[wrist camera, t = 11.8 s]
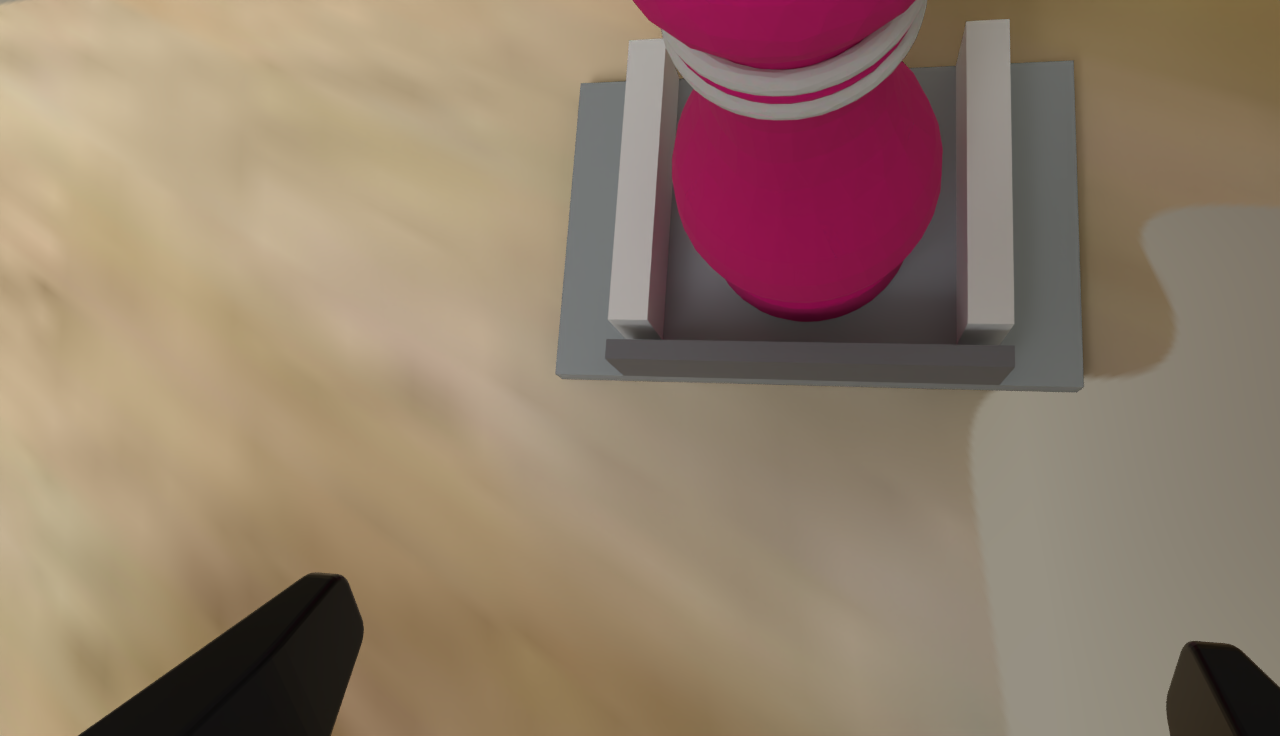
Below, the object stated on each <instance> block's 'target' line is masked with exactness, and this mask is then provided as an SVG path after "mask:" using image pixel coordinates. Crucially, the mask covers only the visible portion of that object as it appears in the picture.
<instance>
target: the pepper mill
mask: <svg viewBox="0 0 1280 736" xmlns="http://www.w3.org/2000/svg"><path fill="white" fill-rule="evenodd" d="M633 2H634V3H635V4H636V5H637V6H638V8H639V9H640V10H641V11H642V12H643V14H644V15H645V16H646V17H647V18H648V20H649V21H651V22H652V23H654V24H655V25H657V26H658V27H660V28H661V30H662V36H663V40H664V43H665V46H666V49H667V51H668V53H669V55H670V57H671V59H672V61H673V63H674V65H675V67H676V68H677V70H678V71H679V72H680V74H681V75H682V76H683V77H684V79H685V80H686V81H687V82H688V83H689V84H690V86H691V87H692V88H693V90H692V92H691V94H690V96H689V97H688V100H687V102H686V104H685V106H684V108H683V111H682V114H681V117H680V120H679V123H678V127H677V133H676V138H675V144H674V150H673V155H672V181H673V186H674V192H675V198H676V203H677V208H678V212H679V215H680V218H681V221H682V224H683V227H684V230H685V232H686V233H687V235H688V237H689V239H690V241H691V242H692V244H693V246H694V248H695V250H696V251H697V252H698V253H699V254H700V255H701V257H702V258H703V259H704V260H705V261H706V262H707V263H708V264H709V265H710V266H711V267H712V269H714V270H715V271H716V272H717V273H718V274H719V275H721V276H722V277H723V278H725V280H726V281H727V283H728V284H729V286H730V287H731V288H732V289H733V290H734V291H735V292H736V294H738V295H739V296H740V297H741V298H742V299H743V300H744V301H746V302H748V303H749V304H751V305H752V306H754V307H755V308H757V309H758V310H760V311H762V312H764V313H766V314H769V315H771V316H774V317H777V318H782V319H787V320H792V321H798V322H813V321H823V320H828V319H834V318H837V317H840V316H843V315H846V314H848V313H851V312H853V311H855V310H857V309H859V308H861V307H862V306H864V305H865V304H867V303H869V302H870V301H872V300H873V299H874V298H875V297H876V296H877V295H878V294H879V293H880V292H881V291H883V290H884V289H885V288H886V287H887V285H888V284H889V283H890V282H891V280H892V279H893V278H894V276H895V275H896V274H897V272H898V271H899V269H900V267H901V265H902V263H903V261H904V259H905V258H906V257H907V256H908V255H909V254H910V253H911V252H912V250H913V249H914V248H915V246H916V245H917V244H918V242H919V241H920V240H921V238H922V237H923V235H924V233H925V231H926V229H927V227H928V225H929V223H930V221H931V219H932V217H933V215H934V212H935V208H936V205H937V201H938V198H939V194H940V190H941V176H942V154H943V147H942V141H941V136H940V130H939V124H938V121H937V119H936V117H935V114H934V112H933V109H932V107H931V105H930V102H929V100H928V98H927V96H926V95H925V93H924V91H923V89H922V87H921V86H920V84H919V82H918V80H917V78H916V77H915V75H914V73H913V72H912V71H911V70H910V69H909V68H908V67H907V66H906V65H905V64H904V63H903V62H902V60H903V59H904V57H905V56H906V55H907V53H908V52H909V50H910V48H911V47H912V45H913V43H914V41H915V40H916V37H917V35H918V32H919V30H920V27H921V25H922V21H923V17H924V14H925V10H926V6H927V0H633Z"/></svg>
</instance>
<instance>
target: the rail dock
mask: <svg viewBox="0 0 1280 736" xmlns="http://www.w3.org/2000/svg"><path fill="white" fill-rule="evenodd" d="M909 69H910V70H911V71H912V72H913V73H914V75H915V77H916V78H917V80H918V82H919V84H920V86H921V87H922V89H923V91H924V93H925V95H926V96H927V98H928V100H929V102H930V105H931V107H932V109H933V112H934V114H935V117H936V119H937V121H938V124H939V130H940V136H941V141H942V147H943V154H942V176H941V190H940V194H939V198H938V201H937V205H936V208H935V212H934V215H933V217H932V219H931V221H930V223H929V225H928V227H927V229H926V231H925V233H924V235H923V237H922V238H921V240H920V241H919V242H918V244H917V245H916V246H915V248H914V249H913V250H912V252H911V253H910V254H909V255H908V256H907V257H906V258H905V259H904V261H903V263H902V265H901V267H900V269H899V271H898V272H897V274H896V275H895V276H894V278H893V279H892V280H891V282H890V283H889V284H888V285H887V287H886V288H885V289H884V290H883V291H881V292H880V293H879V294H878V295H877V296H876V297H875V298H874V299H873V300H872V301H870V302H869V303H867V304H865V305H864V306H862V307H861V308H859V309H857V310H855V311H853V312H851V313H848V314H846V315H843V316H840V317H837V318H834V319H828V320H823V321H813V322H798V321H792V320H787V319H782V318H777V317H774V316H771V315H769V314H766V313H764V312H762V311H760V310H758V309H757V308H755V307H754V306H752V305H751V304H749V303H748V302H746V301H744V300H743V299H742V298H741V297H740V296H739V295H738V294H736V292H735V291H734V290H733V289H732V288H731V287H730V286H729V284H728V283H727V281H726V280H725V278H723V277H722V276H721V275H719V274H718V273H717V272H716V271H715V270H714V269H712V267H711V266H710V265H709V264H708V263H707V262H706V261H705V260H704V259H703V258H702V257H701V255H700V254H699V253H698V252H697V251H696V250H695V248H694V246H693V244H692V242H691V241H690V239H689V237H688V235H687V233H686V232H685V230H684V227H683V224H682V221H681V218H680V215H679V212H678V208H677V203H676V198H675V192H674V186H673V181H672V155H673V150H674V144H675V138H676V133H677V127H678V123H679V120H680V117H681V114H682V111H683V108H684V106H685V104H686V102H687V100H688V97H689V96H690V94H691V92H692V90H693V88H692V87H691V86H690V84H689V83H688V82H687V81H686V80H685V79H679V76H678V73H677V70H676V67H675V65H674V63H673V61H672V59H671V57H670V55H669V53H668V51H667V49H666V46H665V43H664V40H663V39H645V40H629V50H628V63H627V76H626V81H624V82H602V83H581V87H580V99H579V110H578V122H577V133H576V144H575V156H574V167H573V179H572V190H571V202H570V213H569V225H568V236H567V247H566V259H565V270H564V282H563V293H562V305H561V316H560V327H559V339H558V350H557V362H556V373H555V374H556V375H558V376H559V377H560V378H562V379H585V380H623V381H661V382H700V383H738V384H776V385H815V386H853V387H891V388H930V389H968V390H1006V391H1044V392H1078V391H1079V390H1081V389H1082V388H1083V387H1084V380H1083V348H1082V316H1081V284H1080V252H1079V220H1078V188H1077V156H1076V124H1075V92H1074V61H1053V62H1031V63H1010V19H999V20H981V21H966V25H965V29H964V33H963V37H962V42H961V46H960V50H959V55H958V59H957V63H956V66H945V67H924V68H909Z"/></svg>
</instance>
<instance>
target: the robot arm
mask: <svg viewBox="0 0 1280 736" xmlns="http://www.w3.org/2000/svg"><path fill="white" fill-rule="evenodd" d="M363 633H364V627H363V620H362V617H361V615H360V612H359V609H358V607H357V604H356V601H355V599H354V596H353V593H352V591H351V588H350V585H349V583H348V581H347V579H346V578H344V577H343V576H342V575H339V574H330V573H310V574H307V575H305V576H304V577H302V578H301V579H299V580H298V581H296V582H295V583H294V584H292V585H291V586H289V587H288V588H287V589H285V590H284V591H282V592H281V593H279V594H278V595H277V596H275V597H274V598H272V599H271V600H270V601H268V602H267V603H265V604H264V605H262V606H261V607H260V608H258V609H257V610H255V611H254V612H253V613H251V614H250V615H248V616H247V617H245V618H244V619H243V620H241V621H240V622H238V623H237V624H236V625H234V626H233V627H231V628H230V629H228V630H227V631H226V632H224V633H223V634H221V635H220V636H219V637H217V638H216V639H214V640H213V641H211V642H210V643H209V644H207V645H206V646H204V647H203V648H201V649H200V650H199V651H197V652H196V653H194V654H193V655H192V656H190V657H189V658H187V659H186V660H184V661H183V662H182V663H180V664H179V665H177V666H176V667H175V668H173V669H172V670H170V671H169V672H167V673H166V674H165V675H163V676H162V677H160V678H159V679H158V680H156V681H155V682H153V683H152V684H150V685H149V686H148V687H146V688H145V689H143V690H142V691H141V692H139V693H138V694H136V695H135V696H133V697H132V698H131V699H129V700H128V701H126V702H125V703H124V704H122V705H121V706H119V707H118V708H116V709H115V710H114V711H112V712H111V713H109V714H108V715H107V716H105V717H104V718H102V719H101V720H99V721H98V722H97V723H95V724H94V725H92V726H91V727H90V728H88V729H87V730H85V731H84V732H82V733H81V734H80V735H78V736H331V733H332V730H333V727H334V724H335V721H336V718H337V715H338V712H339V709H340V706H341V703H342V700H343V697H344V694H345V691H346V688H347V685H348V682H349V679H350V676H351V673H352V671H353V668H354V665H355V662H356V659H357V656H358V653H359V650H360V647H361V643H362V640H363ZM1166 703H1167V704H1166V710H1167V720H1168V725H1169V731H1170V736H1280V687H1279V686H1278V685H1277V684H1276V683H1275V682H1274V681H1272V680H1271V679H1270V678H1269V677H1268V676H1267V675H1266V674H1265V673H1264V672H1263V671H1262V670H1261V669H1260V668H1259V667H1258V666H1257V665H1256V664H1255V663H1254V662H1253V661H1252V660H1251V659H1250V658H1249V657H1248V656H1246V655H1245V654H1244V653H1243V652H1242V651H1241V650H1240V649H1238V648H1237V647H1235V646H1233V645H1230V644H1225V643H1213V642H1201V641H1191V642H1188V643H1187V644H1185V646H1184V647H1183V649H1182V651H1181V654H1180V657H1179V660H1178V663H1177V666H1176V669H1175V672H1174V675H1173V678H1172V681H1171V685H1170V688H1169V691H1168V694H1167V701H1166Z"/></svg>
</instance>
